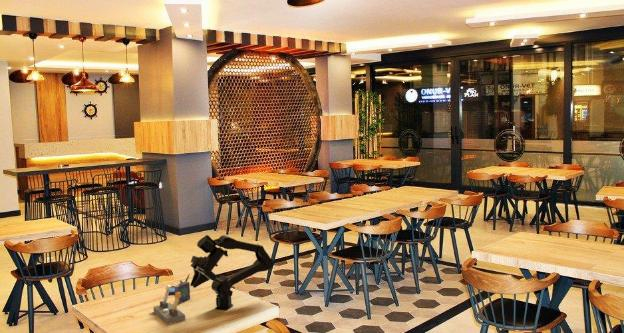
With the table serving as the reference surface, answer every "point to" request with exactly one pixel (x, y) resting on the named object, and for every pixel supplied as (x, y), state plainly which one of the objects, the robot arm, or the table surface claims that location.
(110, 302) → the table surface
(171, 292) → the camera
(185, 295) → the flask
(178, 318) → the switch panel
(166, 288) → the steel lever
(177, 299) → the brass lever
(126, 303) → the table surface
